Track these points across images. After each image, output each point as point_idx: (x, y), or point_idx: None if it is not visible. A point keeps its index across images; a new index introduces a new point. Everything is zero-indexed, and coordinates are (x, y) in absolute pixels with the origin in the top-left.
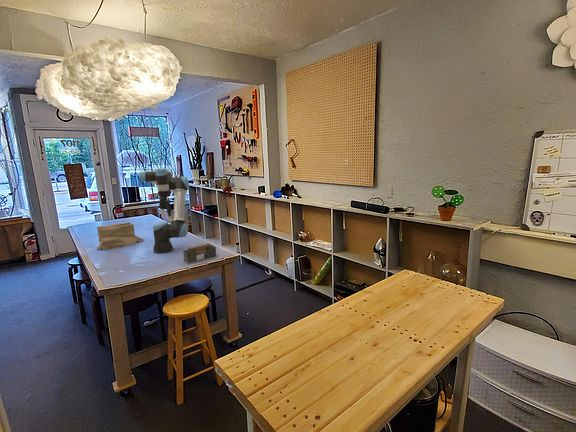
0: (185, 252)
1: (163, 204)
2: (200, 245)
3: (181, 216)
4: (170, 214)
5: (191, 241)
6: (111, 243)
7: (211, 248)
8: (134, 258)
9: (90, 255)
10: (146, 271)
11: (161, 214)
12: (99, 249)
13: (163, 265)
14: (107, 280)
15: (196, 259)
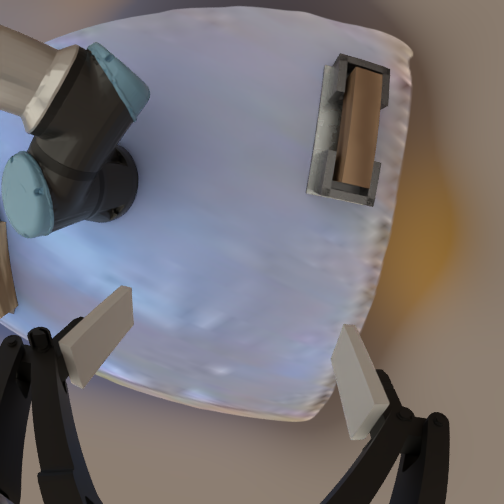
0: (347, 200)
1: (75, 452)
2: (357, 112)
3: (39, 60)
4: (390, 390)
5: None
6: (4, 291)
7: (387, 88)
8: None
9: None
10: (291, 333)
11: (112, 349)
12: (14, 309)
13: (286, 272)
14: (264, 406)
15: None
